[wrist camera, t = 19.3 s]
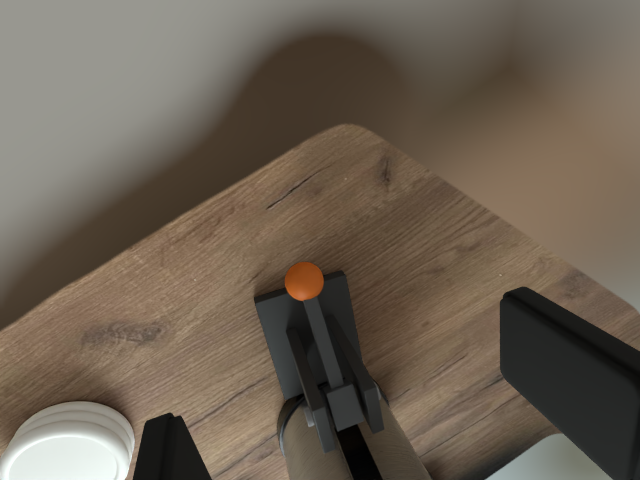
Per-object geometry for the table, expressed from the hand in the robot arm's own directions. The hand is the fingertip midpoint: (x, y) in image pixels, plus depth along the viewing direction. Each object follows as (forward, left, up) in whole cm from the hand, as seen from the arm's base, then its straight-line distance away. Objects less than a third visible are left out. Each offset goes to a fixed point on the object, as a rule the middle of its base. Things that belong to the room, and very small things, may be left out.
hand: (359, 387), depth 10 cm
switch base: (+12, +9, -24) cm, 28 cm away
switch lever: (+9, +7, -18) cm, 21 cm away
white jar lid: (+27, -10, -24) cm, 38 cm away
